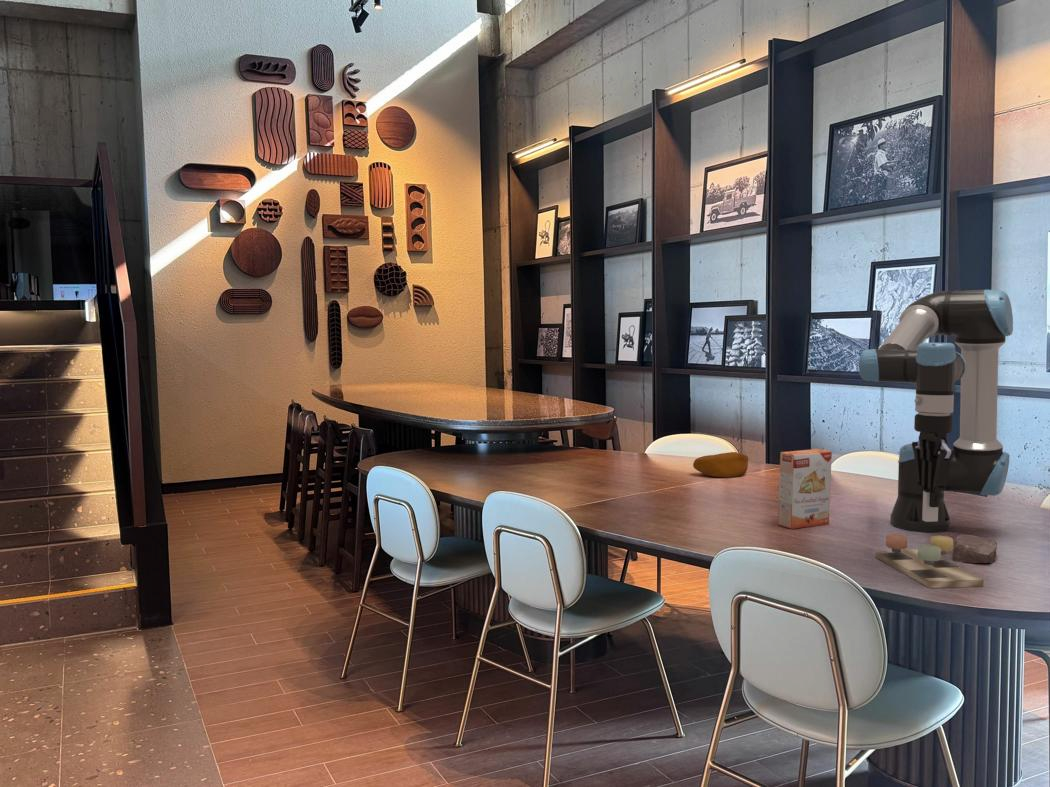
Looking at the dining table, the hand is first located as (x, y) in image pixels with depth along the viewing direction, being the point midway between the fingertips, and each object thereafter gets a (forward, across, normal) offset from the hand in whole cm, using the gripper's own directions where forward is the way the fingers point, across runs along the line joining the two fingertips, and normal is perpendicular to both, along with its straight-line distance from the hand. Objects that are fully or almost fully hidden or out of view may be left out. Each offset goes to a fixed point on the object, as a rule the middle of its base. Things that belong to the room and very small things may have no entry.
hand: (929, 520), depth 189 cm
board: (+14, -7, +4) cm, 16 cm away
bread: (+13, -128, -6) cm, 129 cm away
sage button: (+10, 0, 0) cm, 10 cm away
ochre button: (+10, -7, +7) cm, 14 cm away
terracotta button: (+11, -14, 0) cm, 18 cm away
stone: (+14, -16, +21) cm, 30 cm away
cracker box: (+13, -52, -6) cm, 54 cm away
